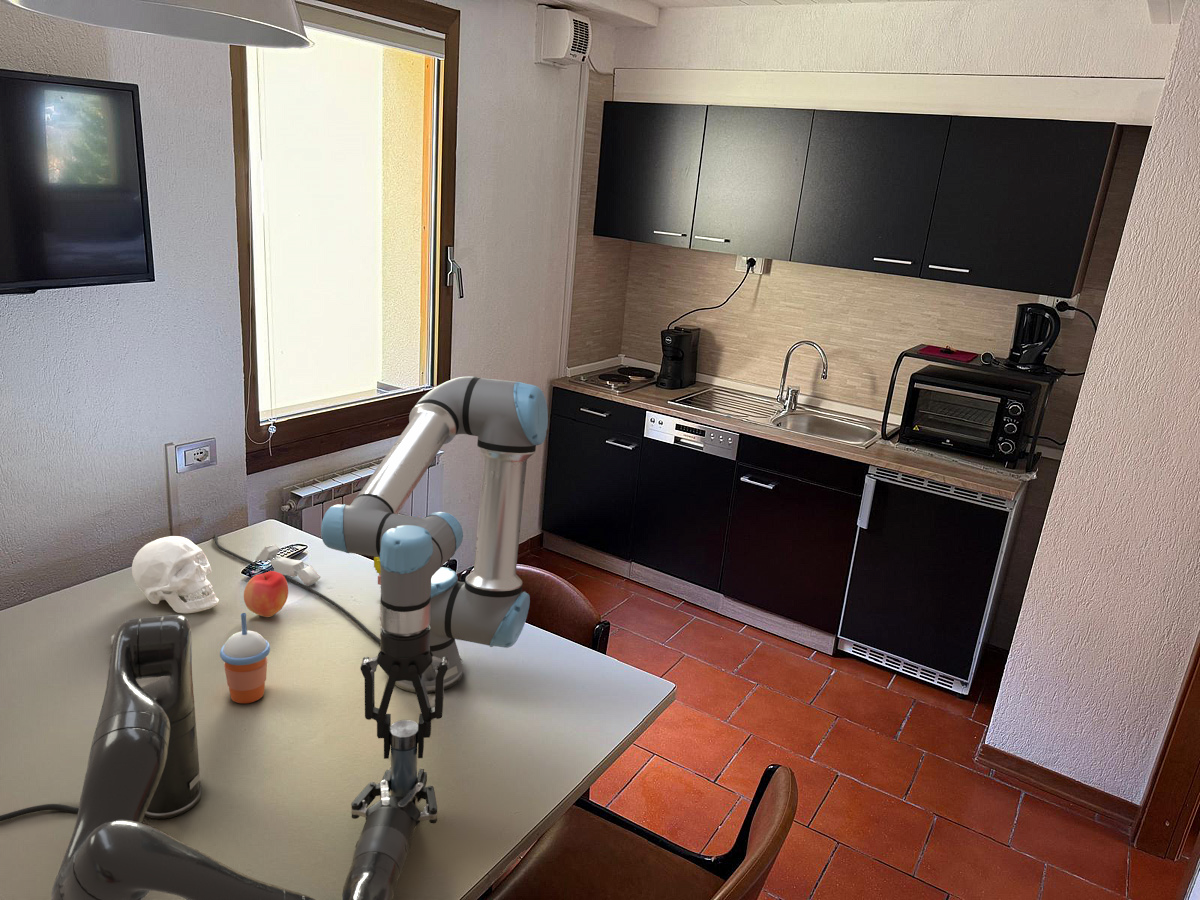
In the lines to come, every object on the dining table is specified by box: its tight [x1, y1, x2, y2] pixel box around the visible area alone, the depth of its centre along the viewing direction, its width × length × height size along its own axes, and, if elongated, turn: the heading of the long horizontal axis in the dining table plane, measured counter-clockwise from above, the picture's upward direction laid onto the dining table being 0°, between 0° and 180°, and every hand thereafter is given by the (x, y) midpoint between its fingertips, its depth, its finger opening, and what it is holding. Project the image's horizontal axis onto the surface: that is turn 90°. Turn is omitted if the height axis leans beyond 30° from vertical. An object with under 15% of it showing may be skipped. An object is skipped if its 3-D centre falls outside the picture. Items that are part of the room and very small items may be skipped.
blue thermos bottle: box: [390, 744, 418, 797], centre depth 140 cm, size 4×4×16 cm
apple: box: [243, 571, 289, 618], centre depth 199 cm, size 10×10×10 cm
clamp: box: [254, 544, 322, 587], centre depth 219 cm, size 20×4×7 cm, turn 62°
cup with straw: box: [219, 612, 271, 704], centre depth 167 cm, size 9×9×18 cm
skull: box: [131, 535, 220, 615], centre depth 201 cm, size 13×22×16 cm, turn 73°
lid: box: [389, 719, 418, 750], centre depth 138 cm, size 5×5×2 cm
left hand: (407, 772), depth 143 cm, fingers closed on blue thermos bottle, 4 cm apart
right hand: (404, 752), depth 139 cm, fingers closed on lid, 5 cm apart
